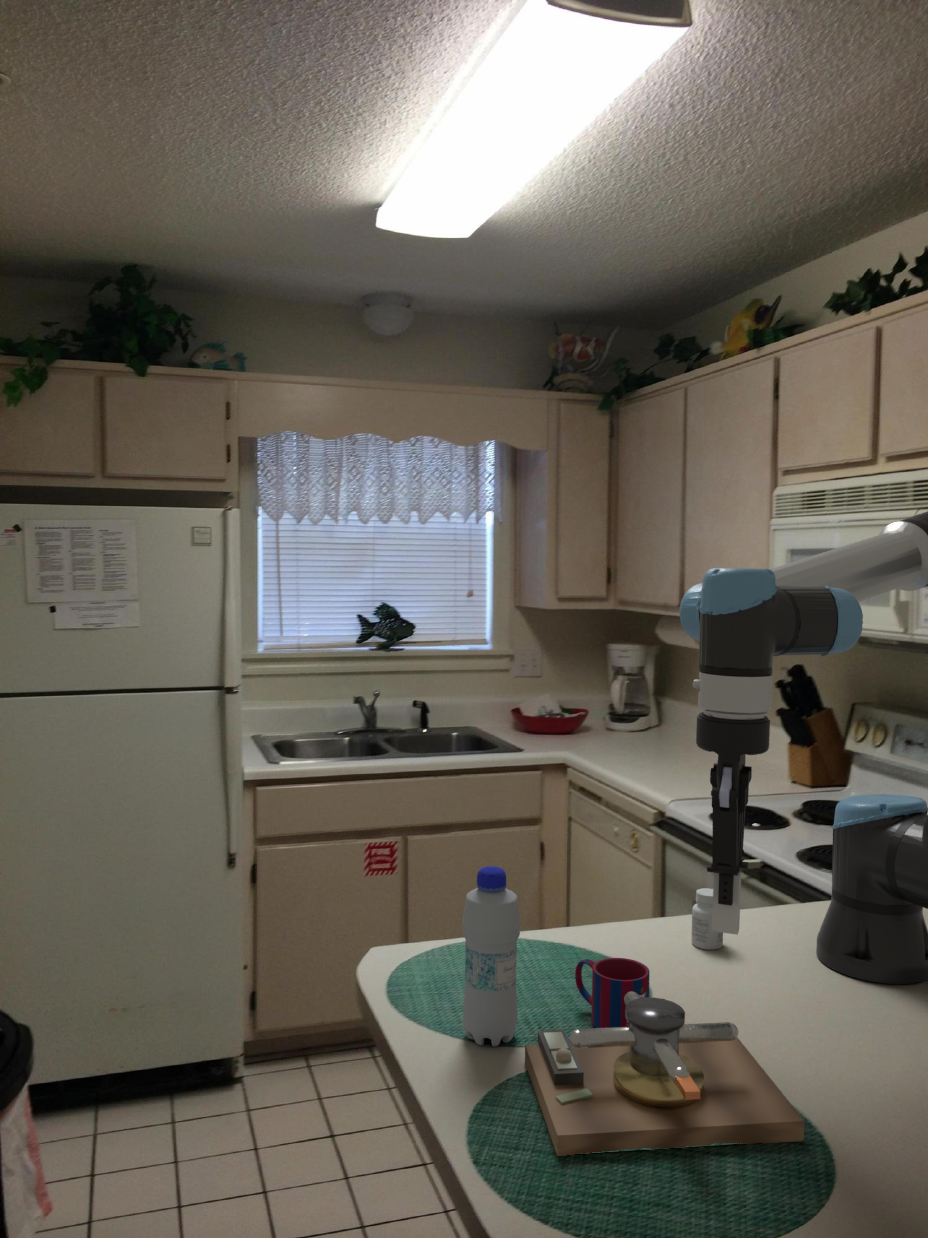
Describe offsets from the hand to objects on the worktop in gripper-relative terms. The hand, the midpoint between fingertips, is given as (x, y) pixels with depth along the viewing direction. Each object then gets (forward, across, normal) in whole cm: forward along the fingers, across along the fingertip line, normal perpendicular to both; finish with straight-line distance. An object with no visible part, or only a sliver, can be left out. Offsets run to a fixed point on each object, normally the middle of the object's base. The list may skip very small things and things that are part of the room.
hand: (725, 930), depth 106 cm
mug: (+16, -7, -14) cm, 22 cm away
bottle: (+16, +3, -26) cm, 30 cm away
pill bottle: (+16, -35, -6) cm, 39 cm away
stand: (+16, +8, -6) cm, 19 cm away
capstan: (+13, +9, -5) cm, 17 cm away
